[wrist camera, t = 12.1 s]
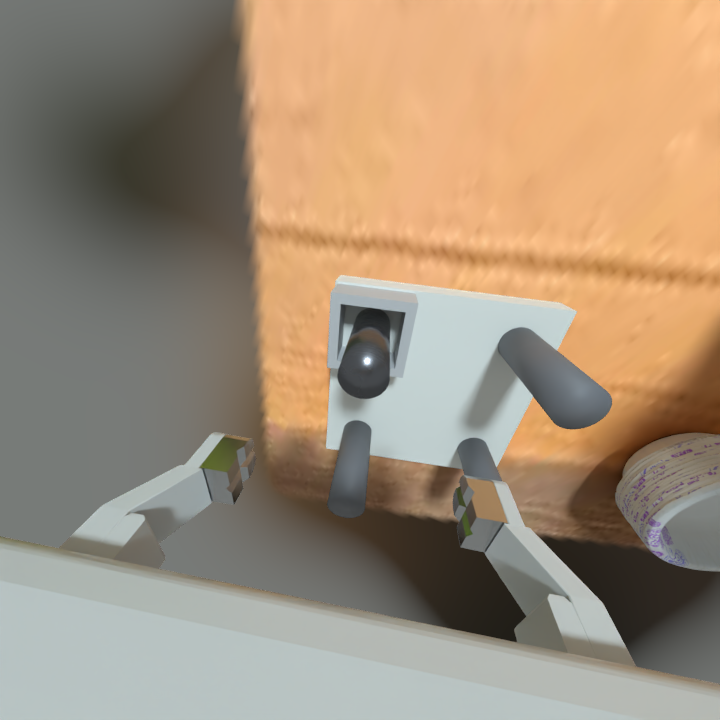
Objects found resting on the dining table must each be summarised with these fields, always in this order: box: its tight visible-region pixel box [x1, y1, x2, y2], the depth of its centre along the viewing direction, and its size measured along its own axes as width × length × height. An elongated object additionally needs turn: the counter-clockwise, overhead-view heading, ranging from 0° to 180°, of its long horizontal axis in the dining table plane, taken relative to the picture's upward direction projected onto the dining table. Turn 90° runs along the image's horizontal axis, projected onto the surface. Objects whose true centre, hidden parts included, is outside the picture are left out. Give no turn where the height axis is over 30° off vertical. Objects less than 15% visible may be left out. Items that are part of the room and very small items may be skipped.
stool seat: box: [326, 275, 612, 518], centre depth 24 cm, size 20×20×12 cm
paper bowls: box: [615, 433, 720, 571], centre depth 28 cm, size 15×15×8 cm
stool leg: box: [337, 308, 390, 399], centre depth 20 cm, size 3×3×9 cm
